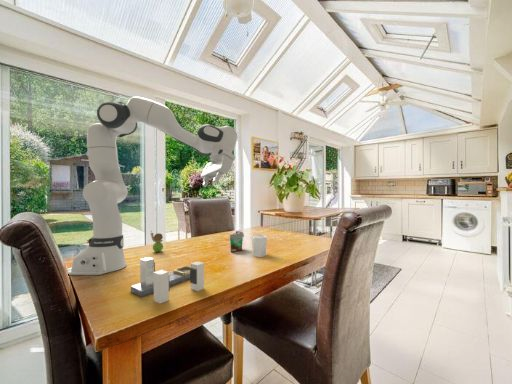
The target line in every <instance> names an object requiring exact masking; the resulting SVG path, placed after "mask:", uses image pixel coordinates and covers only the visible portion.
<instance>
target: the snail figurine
mask: <svg viewBox="0 0 512 384" xmlns="http://www.w3.org/2000/svg"><path fill="white" fill-rule="evenodd" d="M150 236H151V240H152V241H153V242H154V243H153V245H152V250H153V251H154V252H156V253H159V252H162V251H163V249H164V245H163V243H162V242H163V237H164V236H163V234H162V233H160V232H158V233H155V234H154V233H153V232H152V230H150Z"/></svg>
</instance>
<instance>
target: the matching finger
mask: <svg viewBox="0 0 512 384" xmlns="http://www.w3.org/2000/svg"><path fill="white" fill-rule="evenodd" d="M190 266H191V268H190V279H189V283H190V290H192V291H195V292H199V291H202V290H205V289H204V288H205V263H204V262H202V261H193V262H191V263H190Z"/></svg>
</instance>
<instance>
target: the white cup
mask: <svg viewBox="0 0 512 384" xmlns="http://www.w3.org/2000/svg"><path fill="white" fill-rule="evenodd" d="M251 242H252V255H253V257H255V258H264V257H266V256H267V245H268V235H262V234H257V235H256V234H255V235H252V236H251Z"/></svg>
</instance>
